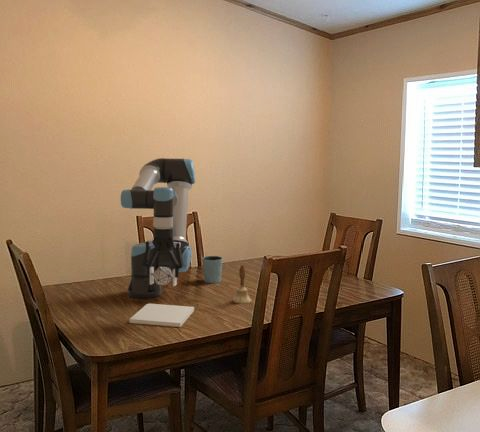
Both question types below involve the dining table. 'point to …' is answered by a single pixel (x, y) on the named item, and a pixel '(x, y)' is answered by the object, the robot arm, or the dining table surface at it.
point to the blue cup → (212, 269)
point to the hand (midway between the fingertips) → (163, 284)
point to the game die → (162, 275)
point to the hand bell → (242, 289)
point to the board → (162, 315)
